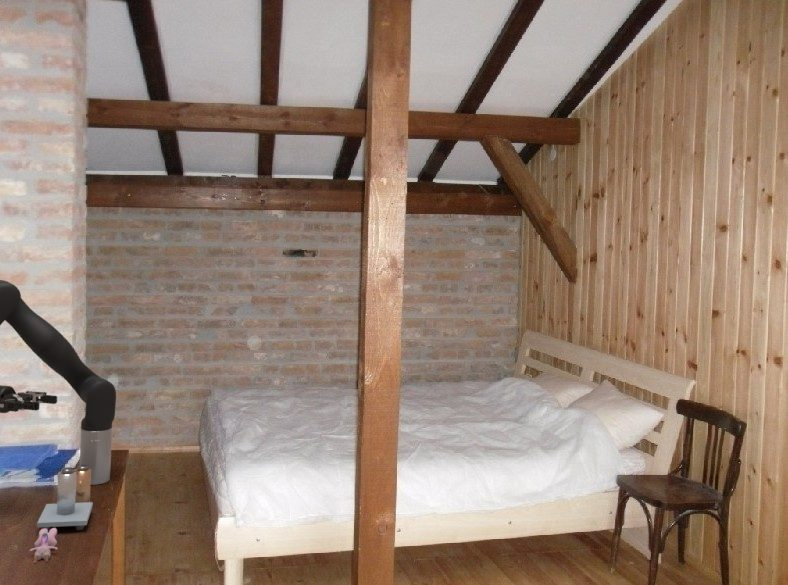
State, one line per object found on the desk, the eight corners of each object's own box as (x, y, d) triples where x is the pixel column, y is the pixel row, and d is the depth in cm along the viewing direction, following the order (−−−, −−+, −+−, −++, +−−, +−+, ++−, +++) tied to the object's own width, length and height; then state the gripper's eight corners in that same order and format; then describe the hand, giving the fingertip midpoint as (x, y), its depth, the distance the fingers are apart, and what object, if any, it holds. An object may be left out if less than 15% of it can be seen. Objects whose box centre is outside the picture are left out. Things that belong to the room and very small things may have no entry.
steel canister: (53, 511, 197) (55, 468, 196) (71, 507, 200) (72, 465, 199) (60, 516, 193) (62, 472, 193) (77, 512, 197) (79, 469, 196)
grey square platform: (46, 515, 202) (46, 503, 202) (92, 513, 205) (92, 502, 205) (36, 534, 188) (37, 522, 188) (86, 532, 192) (86, 520, 192)
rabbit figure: (55, 567, 174) (62, 533, 188) (55, 545, 173) (63, 513, 187) (26, 569, 172) (36, 535, 186) (26, 547, 171) (36, 514, 185)
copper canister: (70, 505, 210) (71, 465, 209) (86, 502, 213) (87, 462, 212) (75, 510, 206) (77, 469, 206) (92, 507, 209) (93, 467, 209)
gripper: (-25, 389, 193) (33, 394, 192) (8, 380, 207) (62, 385, 206) (-26, 417, 194) (32, 422, 192) (8, 406, 208) (61, 410, 206)
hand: (47, 403), depth 199 cm, fingers open, 8 cm apart
